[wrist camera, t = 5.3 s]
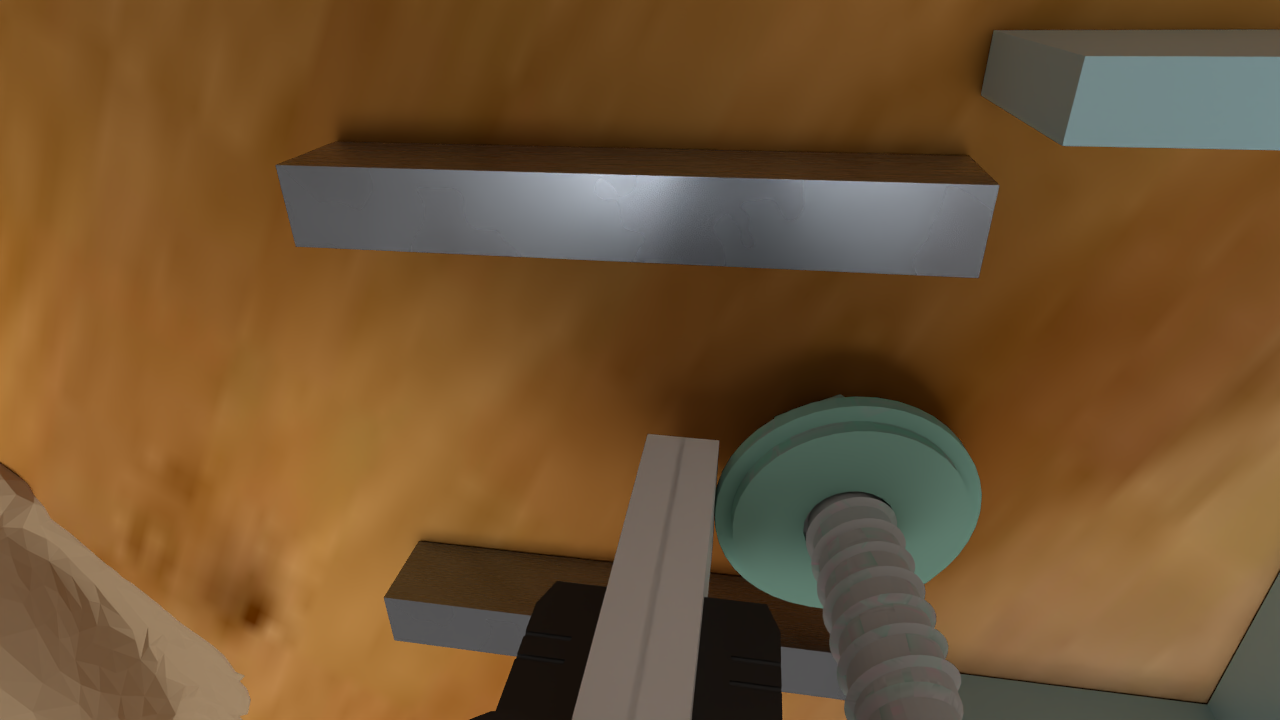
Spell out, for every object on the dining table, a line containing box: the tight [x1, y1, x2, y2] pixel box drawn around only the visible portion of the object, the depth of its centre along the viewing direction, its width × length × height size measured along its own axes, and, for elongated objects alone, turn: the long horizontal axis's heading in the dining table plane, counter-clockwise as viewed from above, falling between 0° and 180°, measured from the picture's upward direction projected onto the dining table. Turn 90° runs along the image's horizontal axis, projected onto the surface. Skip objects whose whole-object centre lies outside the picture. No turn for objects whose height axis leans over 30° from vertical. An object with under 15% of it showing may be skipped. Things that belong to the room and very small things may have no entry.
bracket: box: [958, 29, 1280, 720], centre depth 13 cm, size 16×9×4 cm, turn 1°
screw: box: [714, 394, 982, 720], centre depth 12 cm, size 9×5×5 cm
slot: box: [276, 141, 999, 700], centre depth 16 cm, size 12×12×2 cm
